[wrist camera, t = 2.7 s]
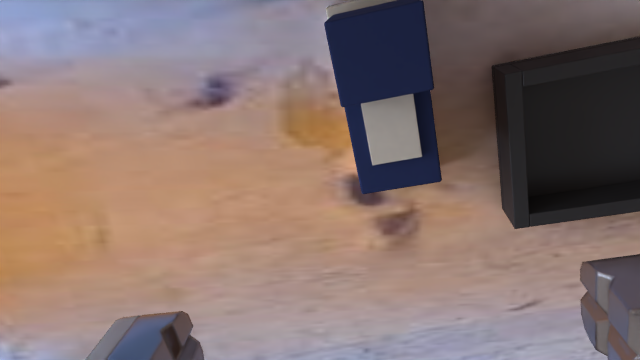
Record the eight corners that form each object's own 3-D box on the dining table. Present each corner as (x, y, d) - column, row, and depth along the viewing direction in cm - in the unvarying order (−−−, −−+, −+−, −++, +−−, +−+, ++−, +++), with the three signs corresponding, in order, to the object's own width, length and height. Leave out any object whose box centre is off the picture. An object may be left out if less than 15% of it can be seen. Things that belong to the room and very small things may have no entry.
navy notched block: (327, 6, 24) (316, 13, 18) (412, -14, 23) (427, -13, 18) (361, 180, 27) (361, 228, 22) (436, 168, 27) (454, 214, 21)
